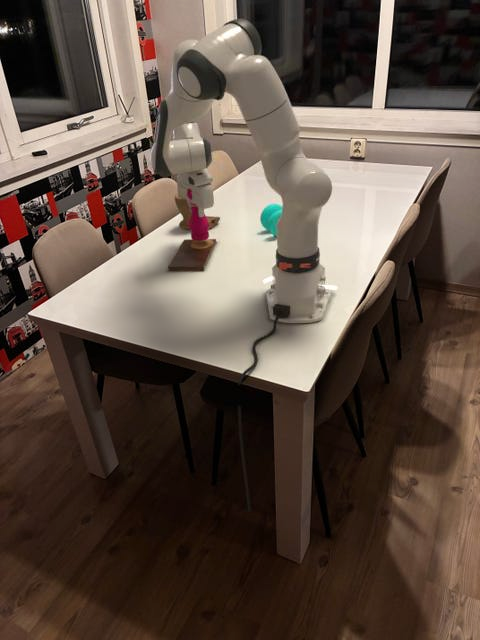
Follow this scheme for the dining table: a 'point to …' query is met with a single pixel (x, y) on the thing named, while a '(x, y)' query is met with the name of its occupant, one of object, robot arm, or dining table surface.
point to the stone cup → (186, 213)
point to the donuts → (271, 217)
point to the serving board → (192, 255)
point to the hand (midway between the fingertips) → (197, 214)
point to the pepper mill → (197, 222)
